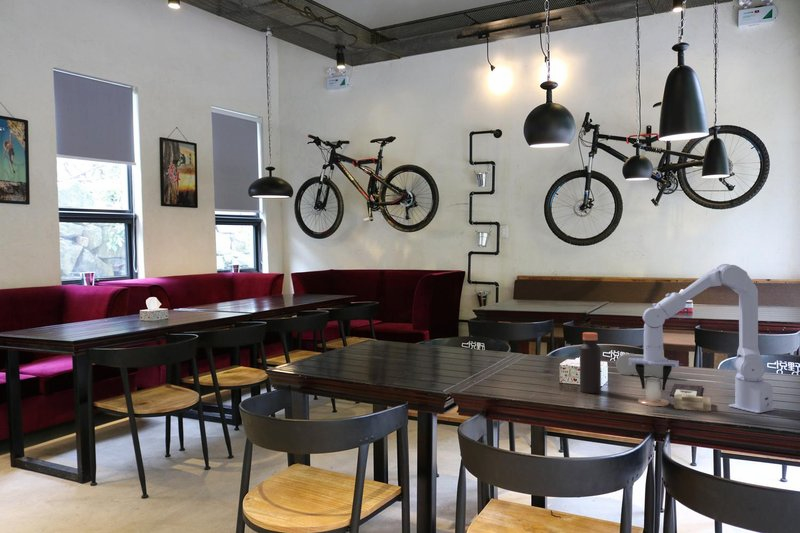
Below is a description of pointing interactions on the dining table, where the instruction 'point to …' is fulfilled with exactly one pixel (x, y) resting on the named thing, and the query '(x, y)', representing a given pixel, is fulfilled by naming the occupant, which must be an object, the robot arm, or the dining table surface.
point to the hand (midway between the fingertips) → (653, 388)
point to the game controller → (627, 369)
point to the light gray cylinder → (653, 390)
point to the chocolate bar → (686, 390)
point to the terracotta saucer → (662, 403)
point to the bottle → (590, 364)
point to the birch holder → (692, 403)
